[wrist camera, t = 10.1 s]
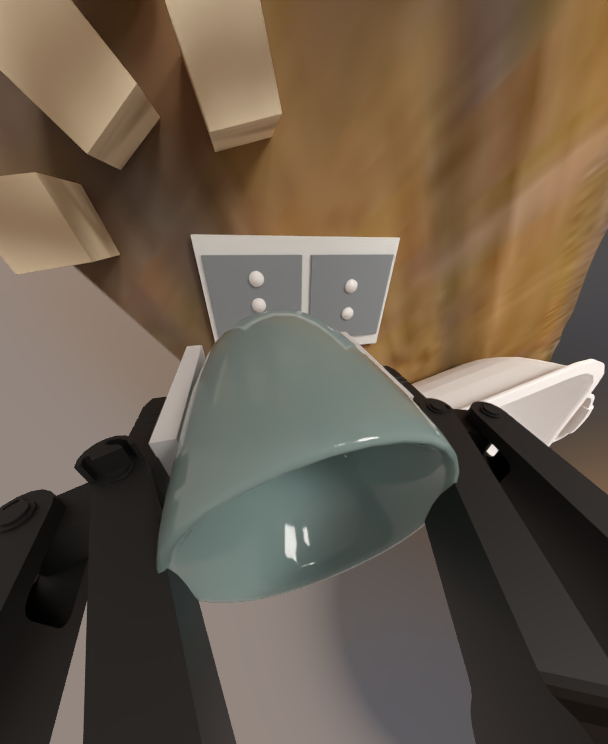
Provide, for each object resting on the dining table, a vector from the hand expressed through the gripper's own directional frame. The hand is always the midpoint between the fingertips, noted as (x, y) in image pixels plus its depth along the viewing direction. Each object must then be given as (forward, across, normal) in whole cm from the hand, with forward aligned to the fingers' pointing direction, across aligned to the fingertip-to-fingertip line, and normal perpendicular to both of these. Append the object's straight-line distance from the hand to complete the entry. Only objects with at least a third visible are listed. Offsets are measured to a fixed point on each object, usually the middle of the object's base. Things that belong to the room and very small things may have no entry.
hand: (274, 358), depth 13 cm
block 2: (+8, -14, +6) cm, 17 cm away
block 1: (+12, -8, +13) cm, 20 cm away
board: (+12, +5, 0) cm, 13 cm away
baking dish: (+12, +30, -21) cm, 38 cm away
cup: (+1, 0, 0) cm, 1 cm away
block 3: (+12, 0, +14) cm, 19 cm away
